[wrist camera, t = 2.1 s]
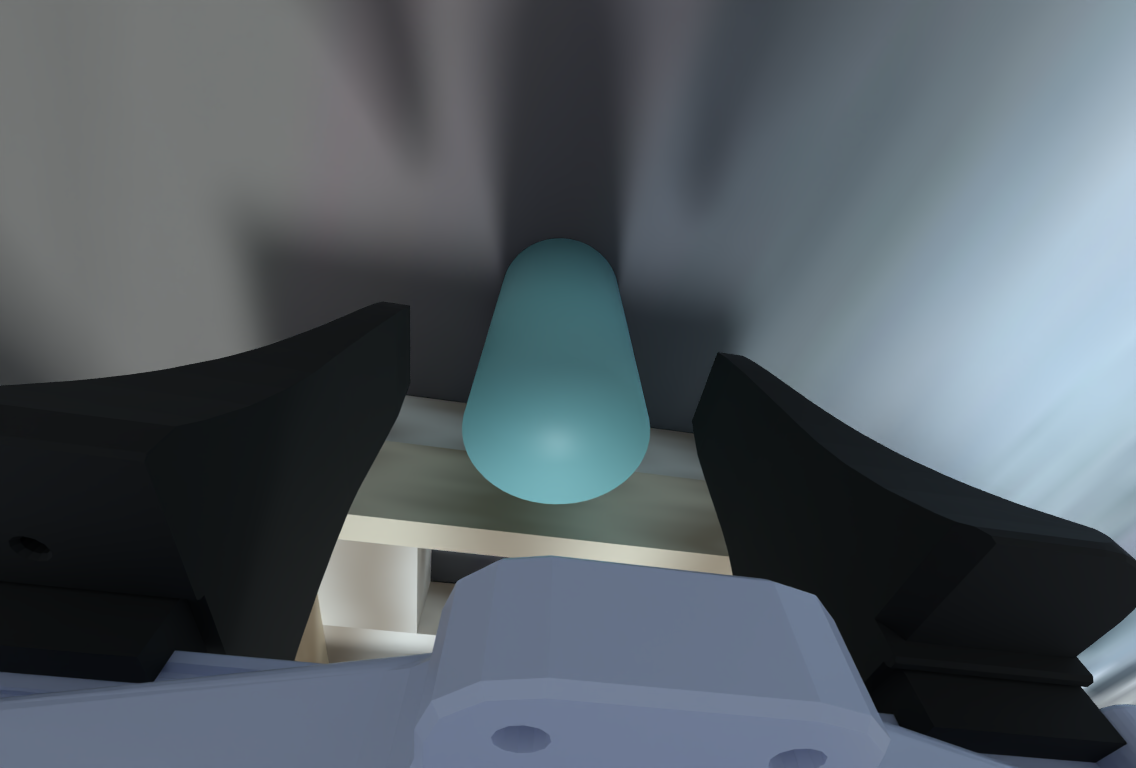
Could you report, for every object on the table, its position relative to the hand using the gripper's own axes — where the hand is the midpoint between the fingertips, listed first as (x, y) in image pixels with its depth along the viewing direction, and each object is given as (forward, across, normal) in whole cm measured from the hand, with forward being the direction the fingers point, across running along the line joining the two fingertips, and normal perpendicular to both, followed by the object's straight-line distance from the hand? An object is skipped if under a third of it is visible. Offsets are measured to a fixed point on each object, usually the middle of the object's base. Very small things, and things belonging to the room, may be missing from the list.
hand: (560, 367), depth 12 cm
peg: (+4, 0, 0) cm, 4 cm away
